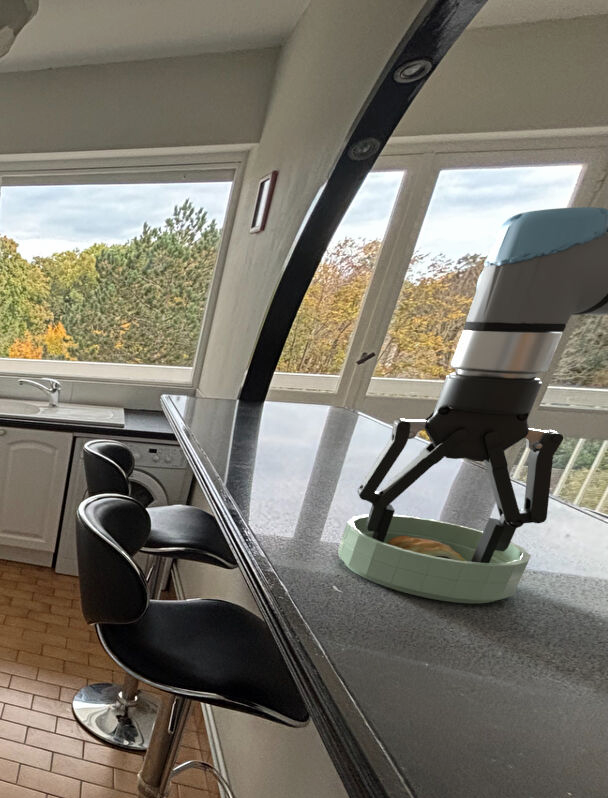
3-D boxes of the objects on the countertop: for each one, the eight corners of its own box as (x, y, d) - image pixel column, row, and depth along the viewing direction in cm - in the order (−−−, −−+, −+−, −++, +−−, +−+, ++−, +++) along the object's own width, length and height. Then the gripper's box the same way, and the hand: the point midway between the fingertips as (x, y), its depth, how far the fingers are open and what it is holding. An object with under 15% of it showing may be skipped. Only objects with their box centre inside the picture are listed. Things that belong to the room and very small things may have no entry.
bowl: (488, 566, 75) (504, 529, 73) (533, 621, 62) (554, 578, 60) (331, 540, 82) (342, 506, 81) (342, 583, 70) (354, 545, 68)
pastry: (367, 548, 78) (377, 521, 76) (429, 555, 76) (440, 527, 74) (401, 577, 69) (412, 547, 68) (471, 586, 67) (484, 555, 66)
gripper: (625, 377, 61) (534, 573, 69) (364, 365, 71) (313, 537, 80) (663, 384, 55) (559, 598, 63) (372, 370, 65) (316, 555, 74)
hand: (422, 564), depth 71 cm, fingers open, 9 cm apart
